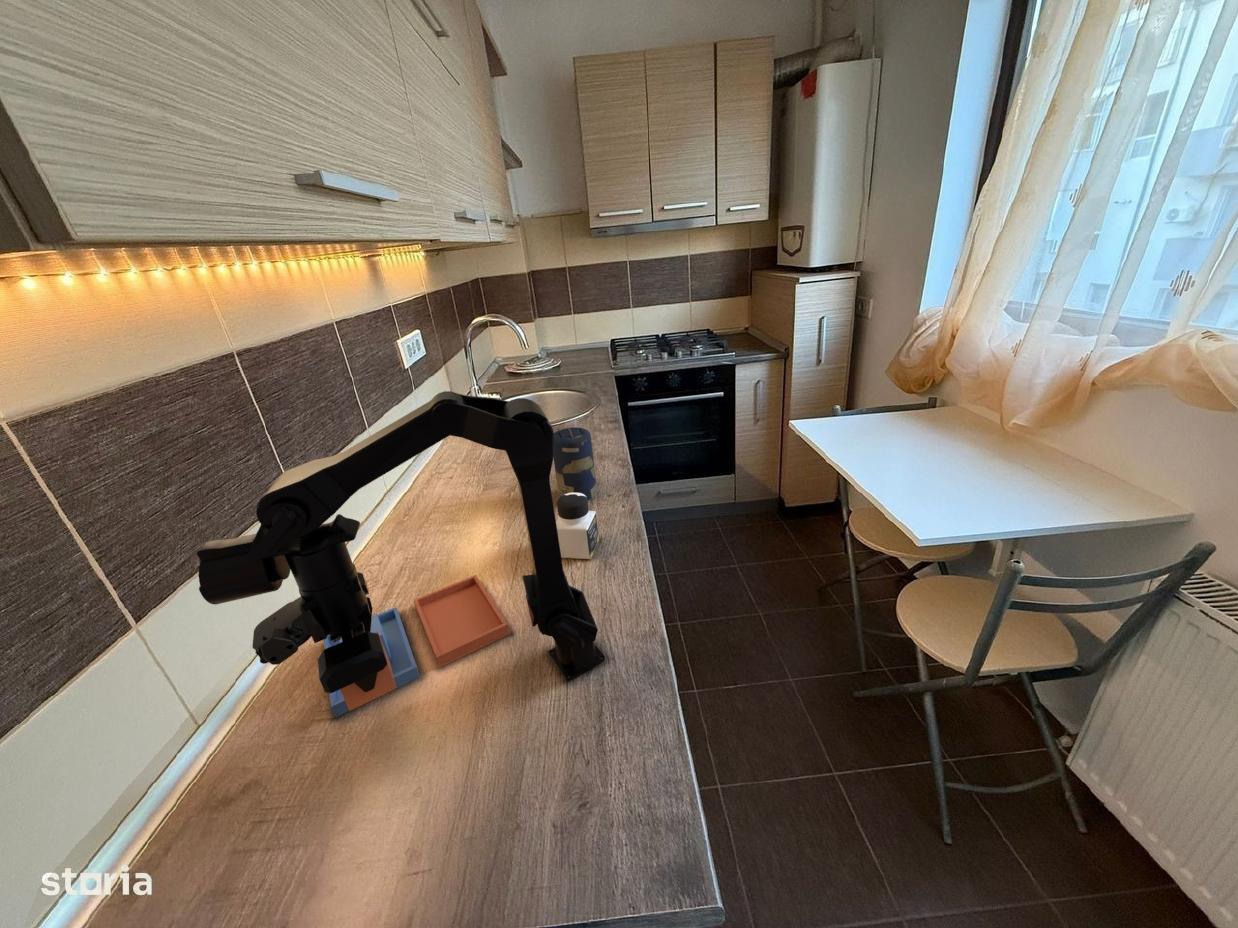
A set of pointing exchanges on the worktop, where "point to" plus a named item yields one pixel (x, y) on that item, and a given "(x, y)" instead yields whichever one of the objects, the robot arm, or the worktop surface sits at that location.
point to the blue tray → (400, 655)
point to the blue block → (378, 628)
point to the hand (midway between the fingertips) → (366, 674)
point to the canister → (574, 462)
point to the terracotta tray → (460, 619)
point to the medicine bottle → (576, 527)
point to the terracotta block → (382, 686)
